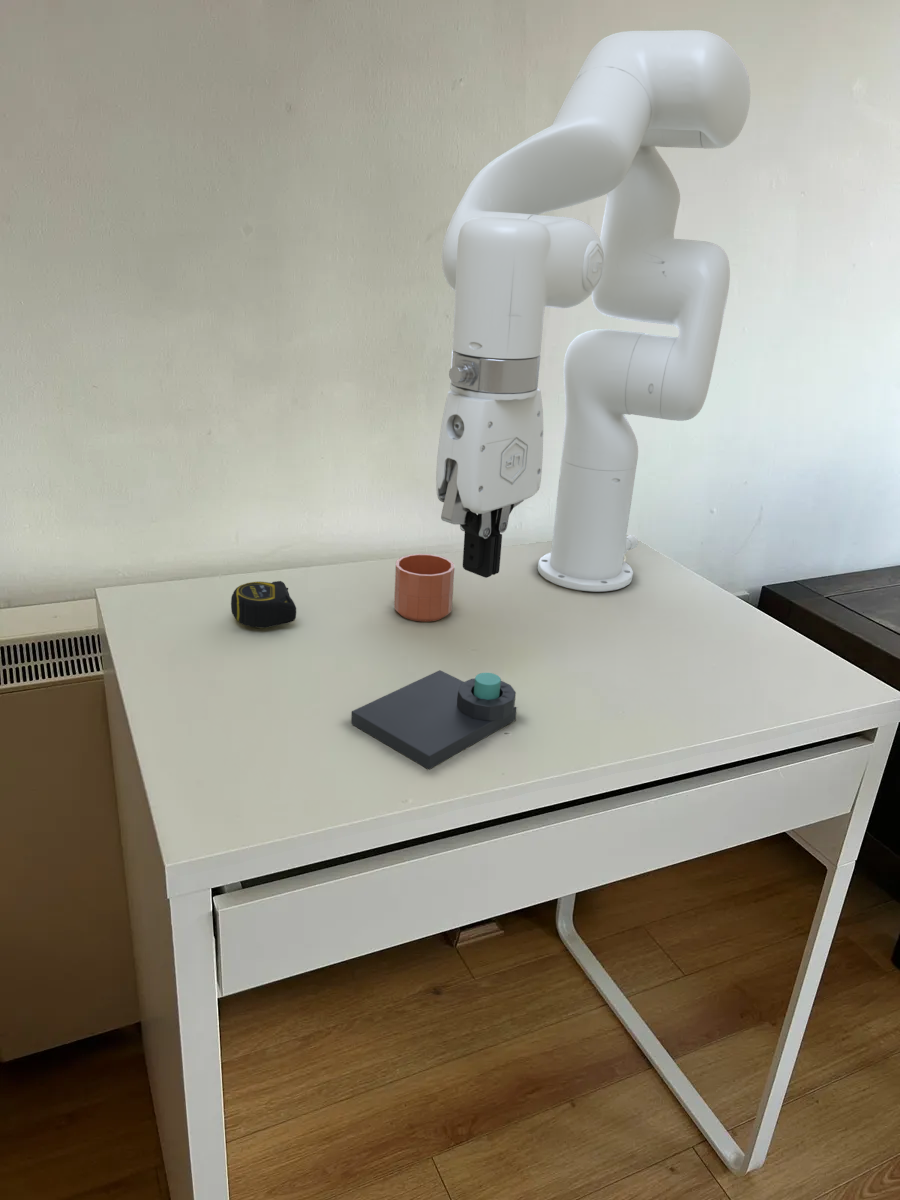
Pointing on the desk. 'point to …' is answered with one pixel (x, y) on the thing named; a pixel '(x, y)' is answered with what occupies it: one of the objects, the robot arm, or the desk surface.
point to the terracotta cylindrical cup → (424, 587)
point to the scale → (435, 717)
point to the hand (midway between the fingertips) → (480, 571)
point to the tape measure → (263, 604)
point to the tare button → (487, 686)
